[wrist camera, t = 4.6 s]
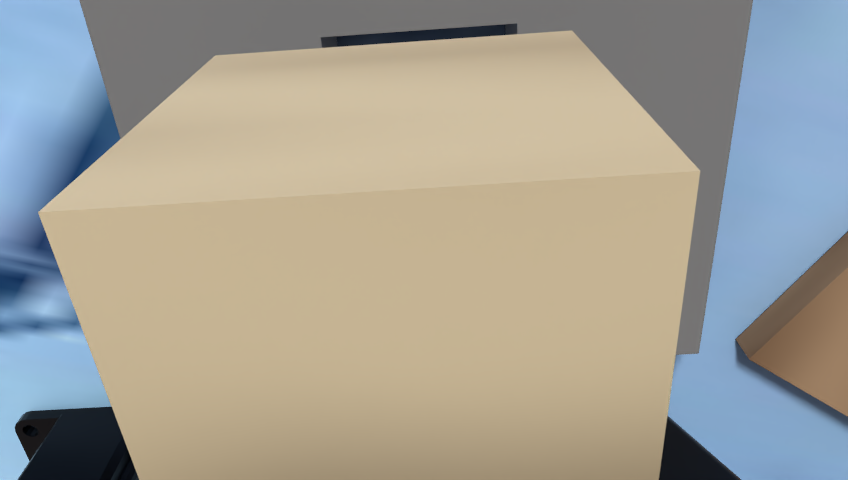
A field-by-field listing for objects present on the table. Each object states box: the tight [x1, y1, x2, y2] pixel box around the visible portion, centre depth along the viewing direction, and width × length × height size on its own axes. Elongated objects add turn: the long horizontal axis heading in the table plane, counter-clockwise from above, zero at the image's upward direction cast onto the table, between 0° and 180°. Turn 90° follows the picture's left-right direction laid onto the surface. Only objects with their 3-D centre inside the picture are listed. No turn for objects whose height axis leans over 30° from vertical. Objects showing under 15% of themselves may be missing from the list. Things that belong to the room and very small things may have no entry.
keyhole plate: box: [80, 0, 753, 355], centre depth 17 cm, size 14×14×2 cm
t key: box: [38, 30, 700, 480], centre depth 8 cm, size 8×3×8 cm, turn 4°
